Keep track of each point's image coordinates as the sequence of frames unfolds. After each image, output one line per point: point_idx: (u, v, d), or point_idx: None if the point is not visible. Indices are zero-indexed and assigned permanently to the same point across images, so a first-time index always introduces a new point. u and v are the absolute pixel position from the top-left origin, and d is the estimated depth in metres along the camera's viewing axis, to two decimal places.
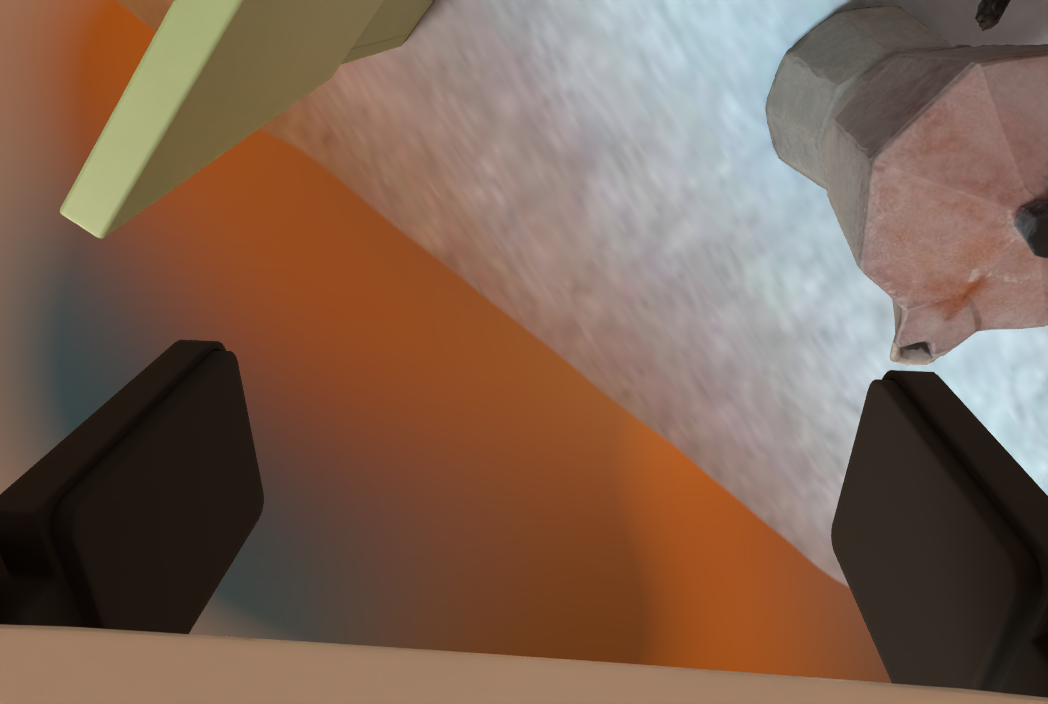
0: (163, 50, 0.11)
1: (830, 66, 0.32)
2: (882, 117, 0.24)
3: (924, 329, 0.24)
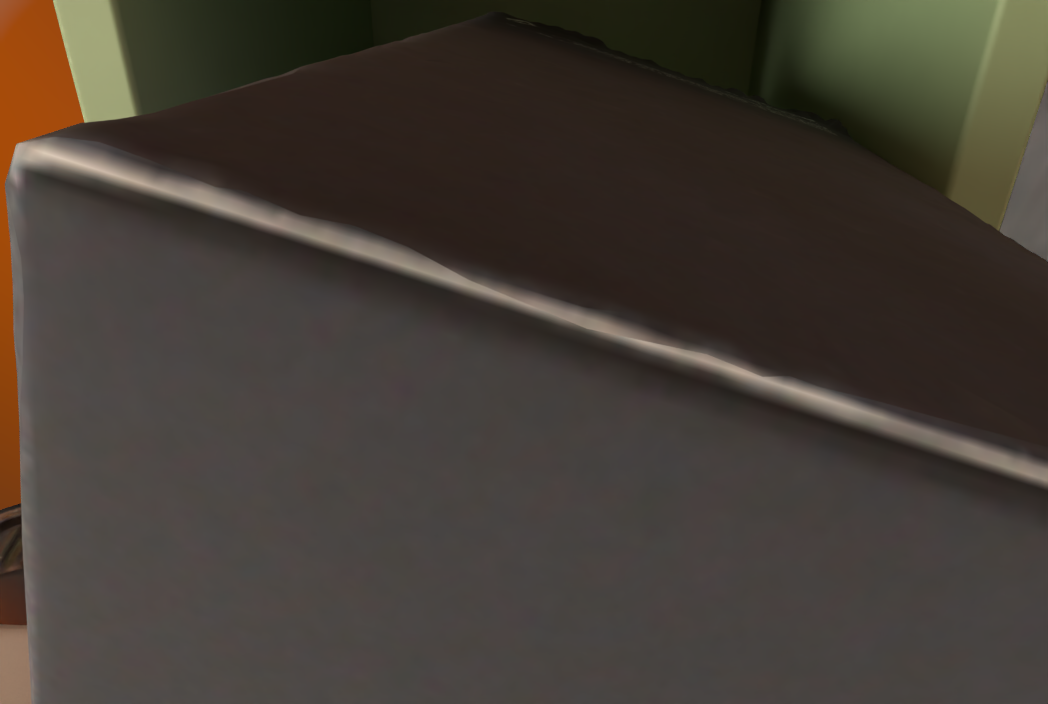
0: None
1: None
2: None
3: None
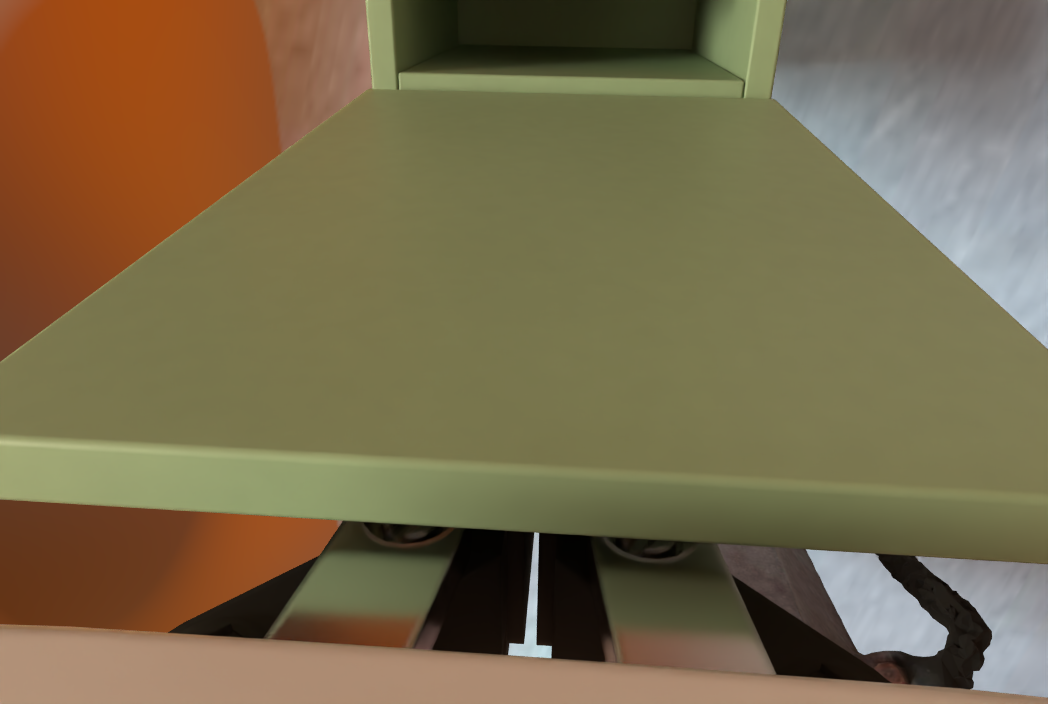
0: (279, 475, 0.06)
1: None
2: None
3: None
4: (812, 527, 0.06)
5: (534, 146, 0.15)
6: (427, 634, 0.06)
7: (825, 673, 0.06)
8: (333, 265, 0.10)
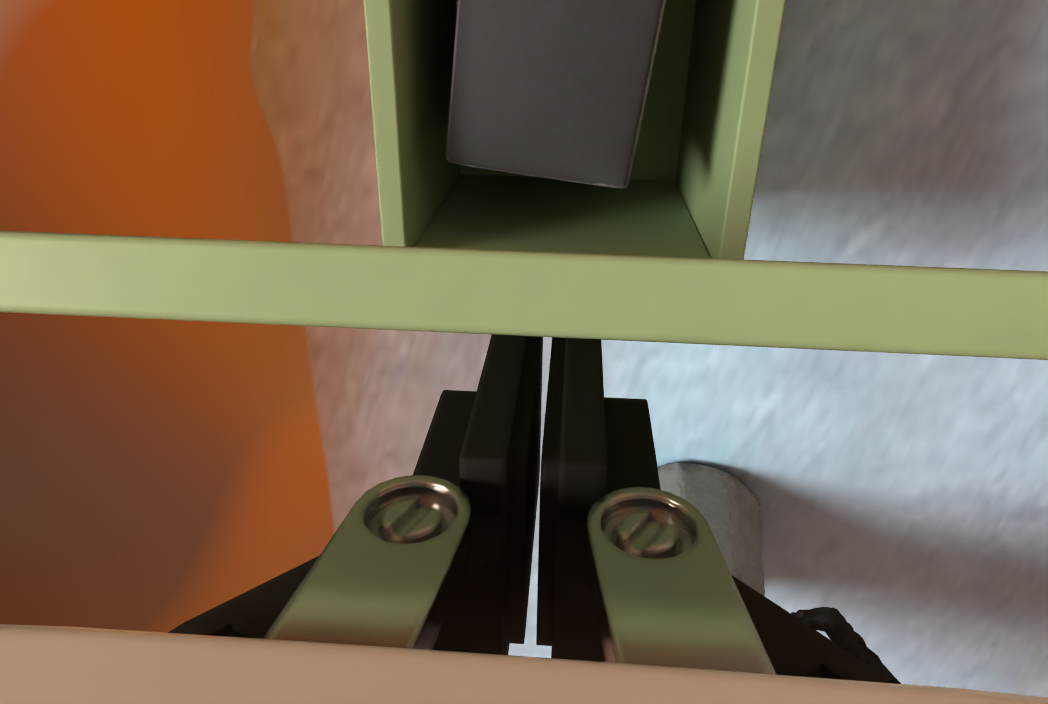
0: (300, 265, 0.07)
1: None
2: None
3: None
4: (811, 313, 0.07)
5: None
6: (428, 636, 0.06)
7: (825, 673, 0.06)
8: None
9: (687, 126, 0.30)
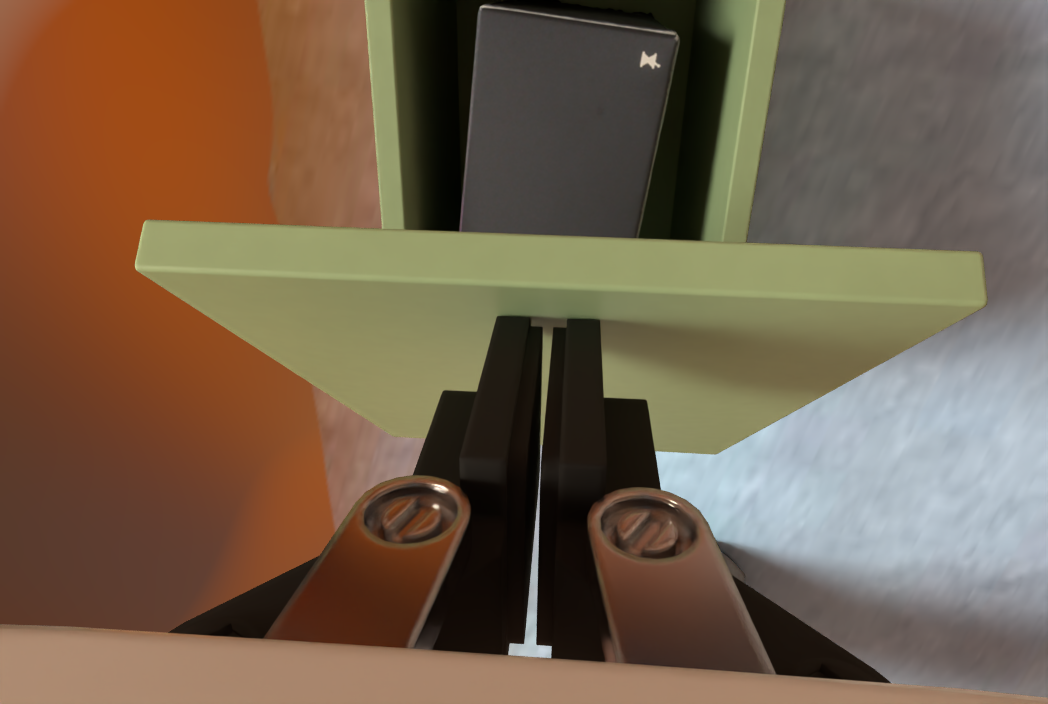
0: (386, 240, 0.10)
1: None
2: None
3: None
4: (736, 272, 0.10)
5: None
6: (428, 635, 0.06)
7: (825, 673, 0.06)
8: None
9: None
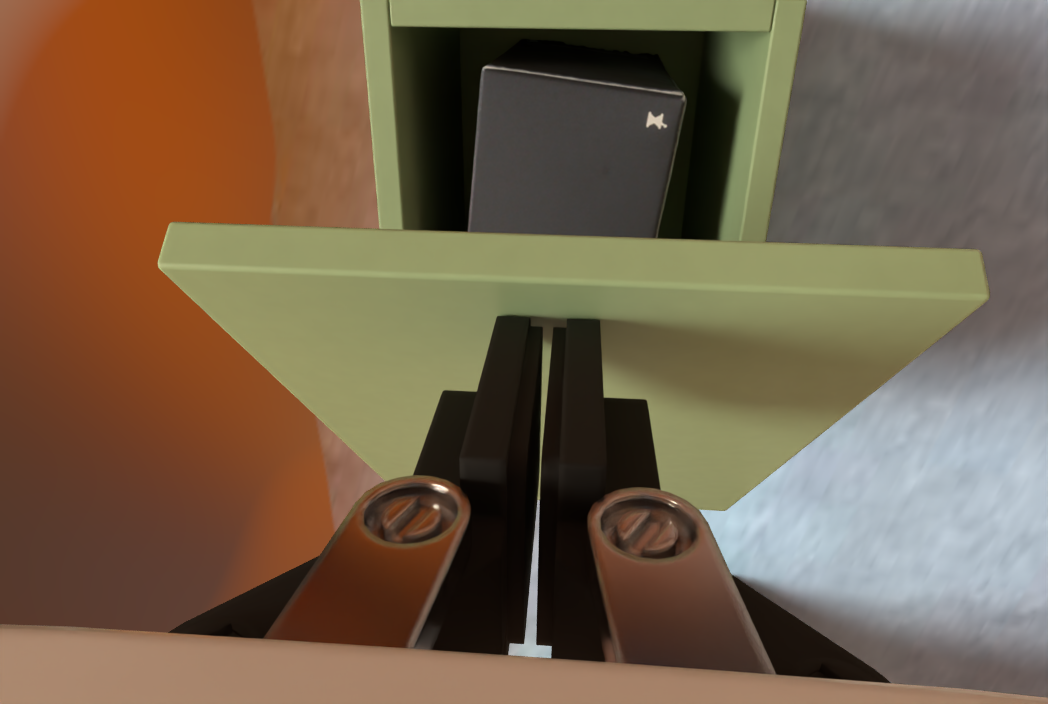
0: (402, 240, 0.10)
1: None
2: None
3: None
4: (743, 268, 0.10)
5: None
6: (428, 635, 0.06)
7: (825, 673, 0.06)
8: None
9: None
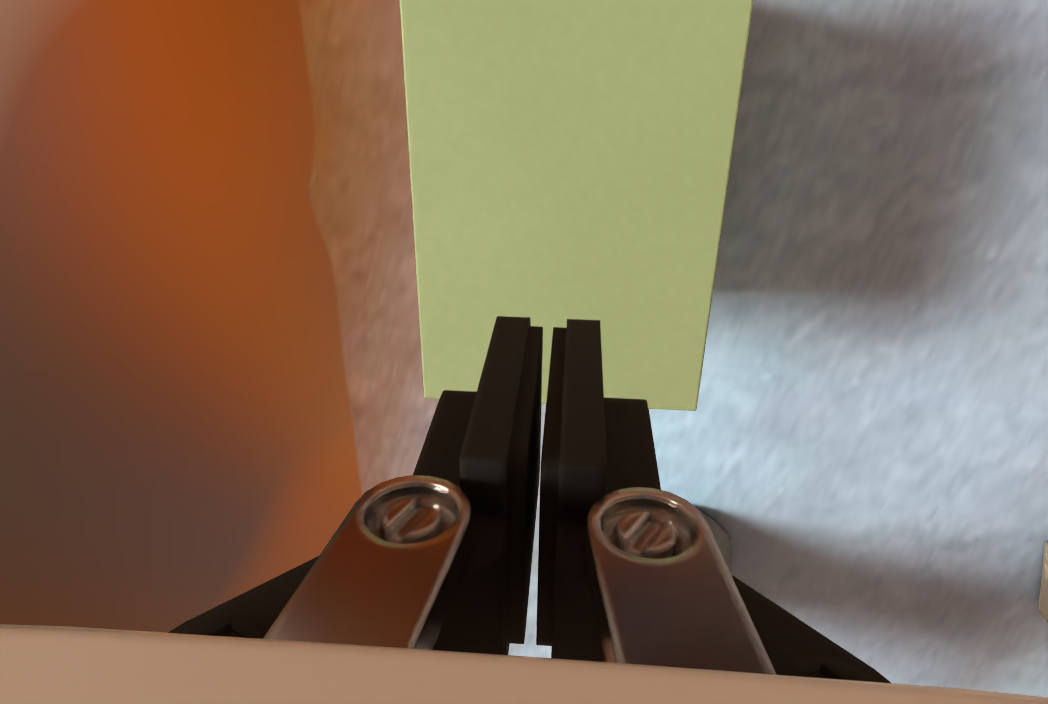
0: None
1: None
2: None
3: None
4: None
5: None
6: (428, 634, 0.06)
7: (825, 673, 0.06)
8: None
9: None
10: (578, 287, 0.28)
